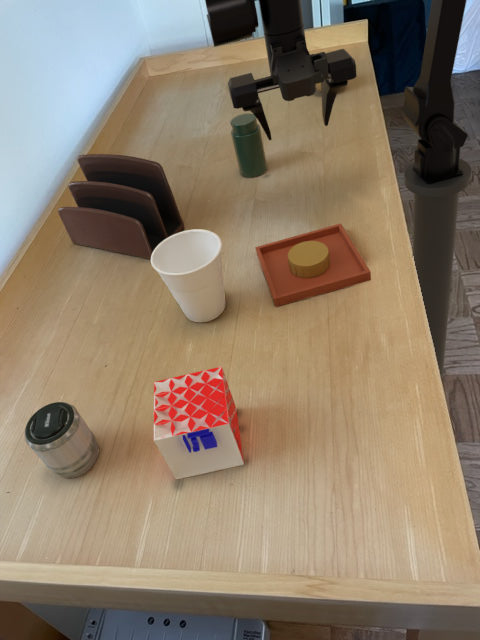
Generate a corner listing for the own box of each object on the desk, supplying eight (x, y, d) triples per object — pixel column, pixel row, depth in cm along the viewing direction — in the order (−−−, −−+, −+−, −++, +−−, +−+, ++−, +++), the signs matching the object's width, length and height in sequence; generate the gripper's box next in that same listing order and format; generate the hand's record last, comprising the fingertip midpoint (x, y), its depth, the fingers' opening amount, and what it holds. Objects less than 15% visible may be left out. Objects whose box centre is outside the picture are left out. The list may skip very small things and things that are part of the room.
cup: (162, 328, 78) (137, 270, 71) (190, 284, 84) (170, 226, 77) (222, 338, 74) (203, 278, 67) (248, 290, 80) (233, 230, 73)
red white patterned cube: (236, 408, 65) (222, 366, 60) (244, 464, 59) (229, 423, 54) (173, 422, 65) (152, 382, 60) (174, 479, 60) (152, 440, 54)
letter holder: (105, 214, 106) (76, 148, 96) (186, 227, 96) (162, 156, 87) (72, 244, 100) (37, 177, 91) (154, 261, 91) (125, 189, 81)
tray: (341, 231, 86) (341, 223, 85) (371, 280, 77) (370, 271, 75) (256, 255, 86) (255, 247, 85) (275, 307, 77) (273, 298, 76)
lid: (282, 272, 81) (280, 260, 80) (302, 249, 84) (300, 237, 83) (317, 282, 78) (316, 269, 76) (336, 257, 81) (335, 245, 80)
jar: (264, 160, 108) (254, 109, 101) (270, 172, 104) (260, 120, 97) (237, 167, 108) (226, 117, 101) (242, 180, 104) (231, 129, 97)
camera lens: (102, 430, 67) (76, 391, 62) (100, 473, 62) (72, 436, 57) (54, 442, 67) (24, 405, 62) (48, 487, 62) (16, 450, 57)
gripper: (225, 63, 70) (248, 169, 81) (364, 26, 69) (369, 139, 80) (217, 38, 78) (239, 138, 89) (342, 5, 77) (349, 110, 88)
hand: (297, 132), depth 86 cm, fingers open, 9 cm apart
